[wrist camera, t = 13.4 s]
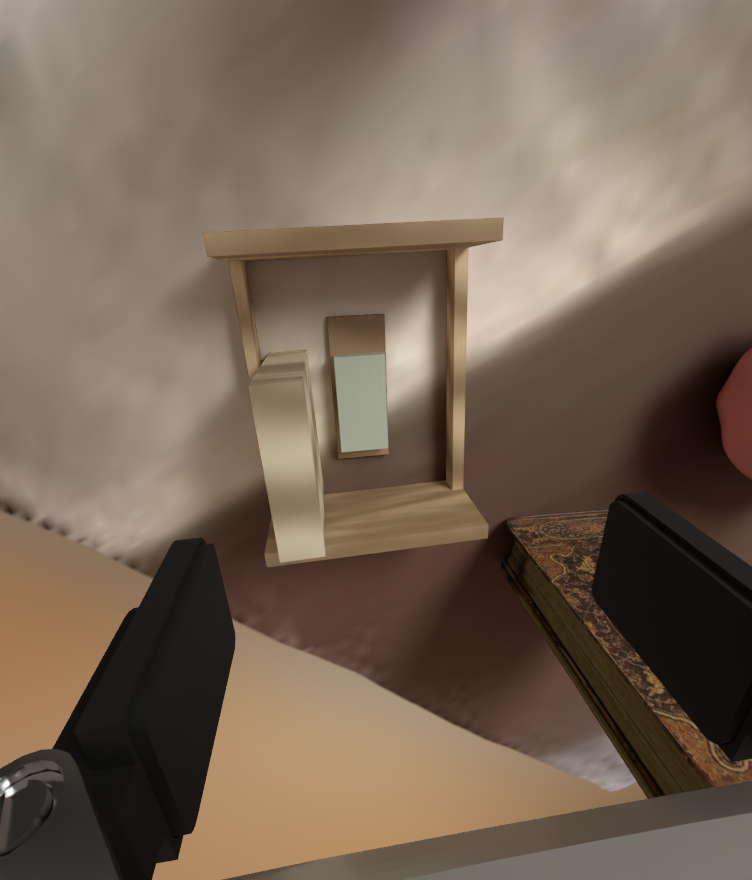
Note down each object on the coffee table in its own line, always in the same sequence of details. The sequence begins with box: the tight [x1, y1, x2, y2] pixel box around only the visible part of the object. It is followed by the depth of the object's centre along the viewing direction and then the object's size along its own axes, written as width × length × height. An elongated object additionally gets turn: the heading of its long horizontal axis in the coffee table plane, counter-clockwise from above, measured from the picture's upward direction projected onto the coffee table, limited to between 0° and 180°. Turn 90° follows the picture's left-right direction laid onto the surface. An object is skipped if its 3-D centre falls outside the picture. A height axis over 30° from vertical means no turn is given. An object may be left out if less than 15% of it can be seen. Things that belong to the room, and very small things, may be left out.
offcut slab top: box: [333, 352, 388, 452], centre depth 34 cm, size 8×4×1 cm, turn 3°
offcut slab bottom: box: [327, 314, 388, 459], centre depth 35 cm, size 12×4×1 cm, turn 2°
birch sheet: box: [248, 350, 326, 563], centre depth 30 cm, size 12×3×11 cm, turn 4°
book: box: [501, 510, 752, 799], centre depth 32 cm, size 16×6×25 cm, turn 90°
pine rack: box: [203, 218, 504, 567], centre depth 31 cm, size 22×17×8 cm
